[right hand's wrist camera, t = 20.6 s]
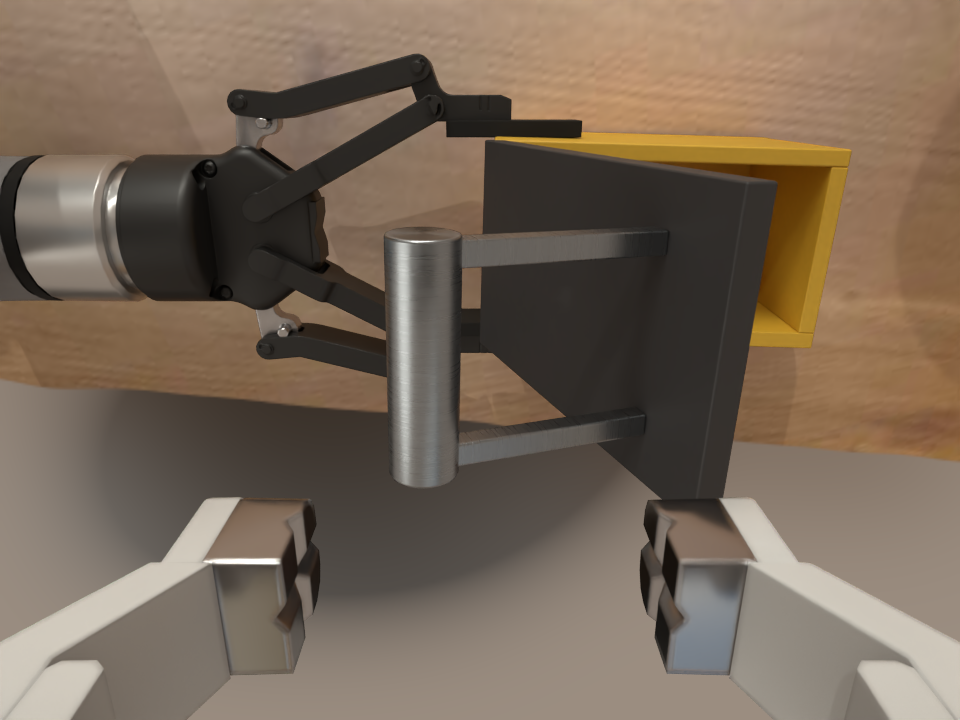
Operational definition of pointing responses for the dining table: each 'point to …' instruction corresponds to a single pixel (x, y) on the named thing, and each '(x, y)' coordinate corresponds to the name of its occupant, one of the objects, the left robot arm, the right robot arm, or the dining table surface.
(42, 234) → the left robot arm
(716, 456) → the lid
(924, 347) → the dining table surface
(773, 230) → the chest
